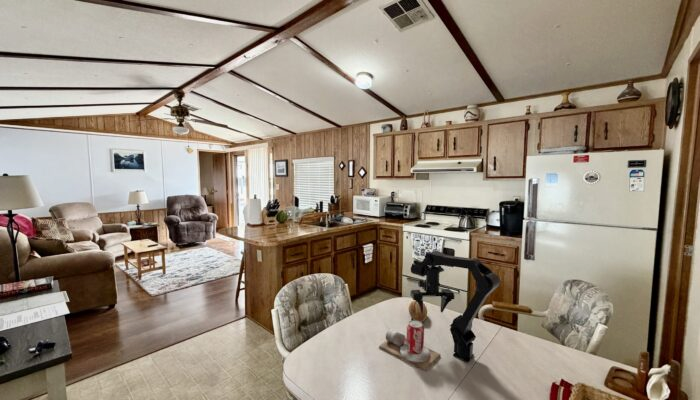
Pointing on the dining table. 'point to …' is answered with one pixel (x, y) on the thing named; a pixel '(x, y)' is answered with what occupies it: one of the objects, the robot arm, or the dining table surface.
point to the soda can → (415, 337)
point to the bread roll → (417, 311)
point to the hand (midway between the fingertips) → (431, 312)
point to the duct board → (399, 349)
